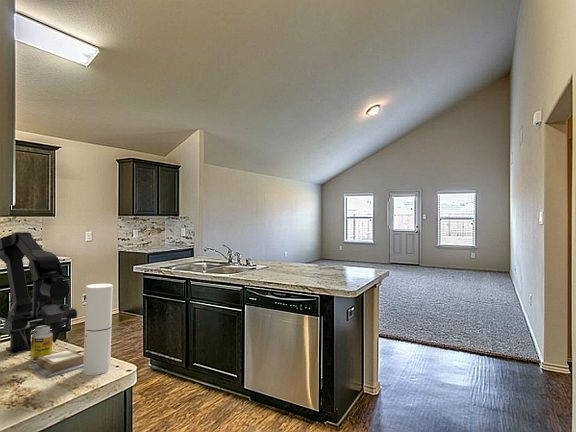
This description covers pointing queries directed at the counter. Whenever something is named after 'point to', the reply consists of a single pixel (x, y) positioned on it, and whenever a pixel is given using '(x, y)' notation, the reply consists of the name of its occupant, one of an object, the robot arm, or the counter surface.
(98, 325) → the cylindrical container
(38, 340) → the supplement bottle
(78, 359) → the tiered square riser
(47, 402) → the counter surface
